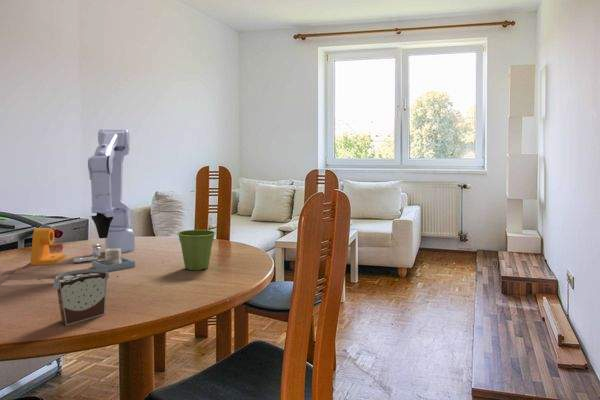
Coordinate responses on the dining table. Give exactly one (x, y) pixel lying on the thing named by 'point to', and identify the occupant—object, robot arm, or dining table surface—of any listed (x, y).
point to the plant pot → (196, 248)
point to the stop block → (113, 256)
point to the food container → (81, 294)
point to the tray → (113, 265)
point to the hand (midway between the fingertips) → (103, 237)
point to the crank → (95, 256)
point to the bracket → (44, 248)
